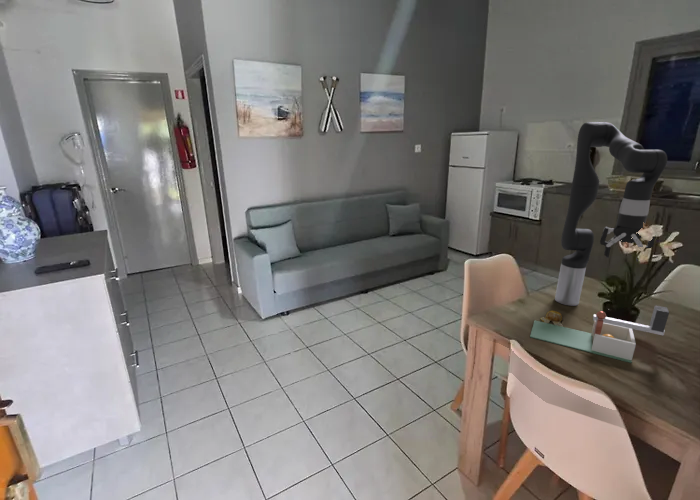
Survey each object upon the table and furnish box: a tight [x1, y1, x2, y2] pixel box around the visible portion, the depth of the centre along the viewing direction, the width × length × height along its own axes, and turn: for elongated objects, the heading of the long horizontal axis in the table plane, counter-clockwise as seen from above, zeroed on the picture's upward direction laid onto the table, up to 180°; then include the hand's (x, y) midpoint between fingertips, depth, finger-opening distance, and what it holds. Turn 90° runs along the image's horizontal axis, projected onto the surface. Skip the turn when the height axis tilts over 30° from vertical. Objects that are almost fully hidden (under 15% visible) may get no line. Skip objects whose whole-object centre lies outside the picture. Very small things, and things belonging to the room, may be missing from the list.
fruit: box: [540, 310, 565, 327], centre depth 143 cm, size 8×8×4 cm
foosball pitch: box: [529, 319, 637, 364], centre depth 129 cm, size 14×30×6 cm, turn 58°
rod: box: [592, 305, 670, 344], centre depth 121 cm, size 4×19×17 cm, turn 58°
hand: (622, 259), depth 123 cm, fingers open, 8 cm apart
